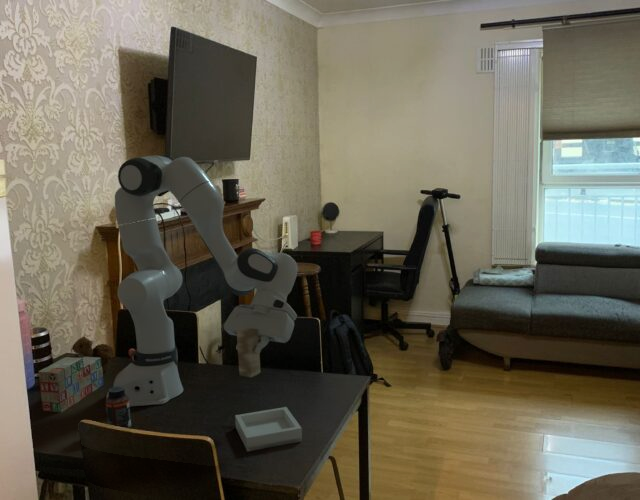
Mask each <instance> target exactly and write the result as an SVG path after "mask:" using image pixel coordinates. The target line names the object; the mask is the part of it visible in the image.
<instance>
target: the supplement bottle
mask: <svg viewBox="0 0 640 500" xmlns="http://www.w3.org/2000/svg"><path fill="white" fill-rule="evenodd" d="M108 392H109V396H108V398H107V399H105V411H106V420H107V421H106V422H107V425H108V424H110V425H115V426H121V427H127V428H130V429H131V428H132V417H131V406H130V403H129V397H128V395H126V394H125V390H124V387H120V386H119V387H113V386H112V387H111V388H109V389H108Z"/></svg>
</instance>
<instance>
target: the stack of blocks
mask: <svg viewBox="0 0 640 500" xmlns="http://www.w3.org/2000/svg"><path fill="white" fill-rule="evenodd" d="M38 378H39V390H40V397H41V408H42V412H50V413H51V412H52V413H53V412H54V413H62V412H64V411H66V410H67V409H69V408H70V407H72V406H74V405H75V404H77V403H79V402H80V401H81V400H83V399H84V398H86V397H87V396H89V395H90V394H92V393H93V392H95V391H96V390H98V389H100V388H101V387H102V386H104V385H105V383H104V372H103V371H102V364H101V358H98V357H83V358H71V356H70V357H69V356H67V357H63V358H61V359H59V360H57V361H56V362H54V363H52V364H50V365H49V366H46V367H44V368H42V369H40V370H39V371H38Z"/></svg>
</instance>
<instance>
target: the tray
mask: <svg viewBox="0 0 640 500" xmlns="http://www.w3.org/2000/svg"><path fill="white" fill-rule="evenodd" d="M234 420H235V421H234V422H235V429H236V431H237V433H238V435H239V437H240V439H241V441H242V443H243V445H244V448H245V451H246V452H252V451H257V450H262V449H267V448H272V447H278V446H284V445H289V444H294V443H295V444H296V443H301V442H303V428H302V426H301V425H300V424H299V423H298V421H297V419H296V418H295V417H294V415H293V414H292V412H291V411H290V410H289V409H288V407H287V406H283V407H278V408H272V409H264V410H260V411H259V410H258V411H254V412H247V413H242V414H241V413H240V414H235V419H234Z"/></svg>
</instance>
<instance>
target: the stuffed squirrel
mask: <svg viewBox="0 0 640 500" xmlns="http://www.w3.org/2000/svg"><path fill="white" fill-rule="evenodd" d="M93 344H94V343H93V340H90V339H89V338H86V336H83V335H82V337H81V338H79V339H77V340H76V341H75V343H73V344H72V347H71V349H70V352H71V353H72V352H74V353H75V355H73V356H70V357H71V358H83V357H98V358H101V364H102V371H103V373H105V372H106V371H108V369H109V368H110V366H111V365H110V364H111V359H112V358H113V357H114V356H115V352H114V351H115V349H114V348H113V347H112V346H110V345H108V344H105V343H100V344H97V345H95V347H93ZM92 347H93V348H92Z"/></svg>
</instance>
